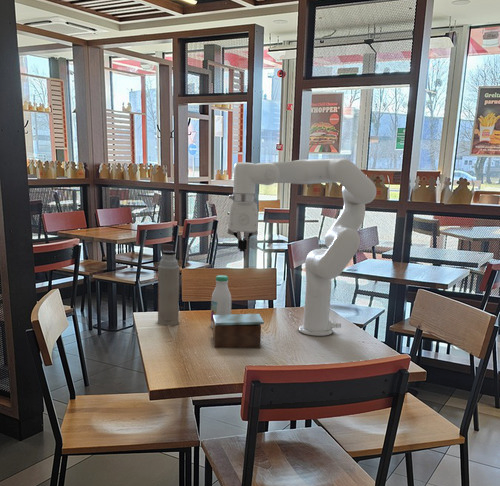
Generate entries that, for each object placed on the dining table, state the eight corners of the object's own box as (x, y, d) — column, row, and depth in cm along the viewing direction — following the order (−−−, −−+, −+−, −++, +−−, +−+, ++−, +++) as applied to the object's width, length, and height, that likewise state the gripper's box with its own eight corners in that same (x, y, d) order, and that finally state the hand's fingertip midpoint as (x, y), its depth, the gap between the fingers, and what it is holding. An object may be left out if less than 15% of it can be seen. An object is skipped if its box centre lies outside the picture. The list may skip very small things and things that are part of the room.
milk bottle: (231, 325, 223) (233, 274, 219) (229, 330, 216) (231, 278, 211) (212, 324, 224) (213, 273, 219) (209, 329, 216) (210, 277, 212)
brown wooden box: (255, 338, 207) (256, 317, 206) (260, 347, 196) (261, 325, 195) (212, 338, 205) (213, 317, 204) (214, 347, 194) (215, 325, 193)
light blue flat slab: (259, 315, 206) (259, 313, 205) (263, 324, 195) (263, 321, 194) (213, 317, 204) (213, 314, 203) (215, 325, 193) (215, 323, 193)
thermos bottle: (155, 324, 220) (155, 252, 213) (161, 319, 227) (161, 249, 221) (175, 326, 219) (176, 253, 212) (180, 321, 226) (181, 250, 220)
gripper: (223, 198, 195) (221, 252, 199) (266, 200, 197) (264, 253, 201) (221, 197, 203) (220, 249, 207) (263, 199, 204) (261, 250, 209)
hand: (241, 250), depth 204 cm, fingers closed
